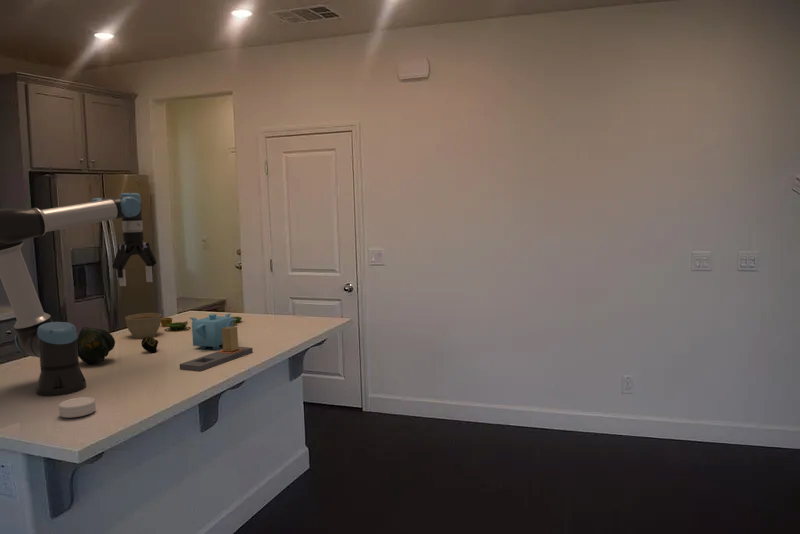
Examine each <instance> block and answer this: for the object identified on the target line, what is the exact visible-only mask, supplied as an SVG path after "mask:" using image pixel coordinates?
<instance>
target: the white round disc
mask: <svg viewBox="0 0 800 534" xmlns="http://www.w3.org/2000/svg"><path fill="white" fill-rule="evenodd" d="M96 409H97V407H96V399H95V398H93V397H89V396H81V397H74V398H70V399H66V400H64V401H61V402H60V403H59V404H58V411H59V412H58V413H59V414H58V415H59V416H60V417H62V418H66V419H67V418H68V419H69V418H70V419H73V418H80V417H85V416H87V415H90V414H92V413H94V412H95V411H96Z"/></svg>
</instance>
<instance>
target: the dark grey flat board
mask: <svg viewBox="0 0 800 534" xmlns="http://www.w3.org/2000/svg"><path fill="white" fill-rule="evenodd" d="M253 349H254V348H253V347H248V346H247V347H246V346H238V351H235V352H232V353H231V352H223V349H221V350H218V351H215V352H212V353H209V354H205V355H203V356H199V357H197V358H194V359H191V360H188V361H185V362H182V363H179V370H182V371H183V370H185V371H192V372H193V371H194V372H202V371H205V370H208V369H210V368H213V367H216V366H219V365H221V364H224V363H227V362H230V361H232V360H233V361H234V360H235V359H238V358H241V357H243V356H247V355H249V354H251V353H253Z"/></svg>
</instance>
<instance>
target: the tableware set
mask: <svg viewBox="0 0 800 534" xmlns="http://www.w3.org/2000/svg"><path fill="white" fill-rule="evenodd" d="M232 317H233V319H237V320H235V321H234V327H236V326H235V325H237V324H238V322H239V323H240V322H241V320H242V319H243V318H242V316H232ZM188 325H189V321H188V320H186V321H183V322H182V321H180V322H178V321H177V322H173V317H161V323H160V326H161V327H162V328H165V329H163V330H164V332H168V333H177V332H180V331H181V332H185V331H188V330H192V326H188ZM186 328H187V329H186Z"/></svg>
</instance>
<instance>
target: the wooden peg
mask: <svg viewBox="0 0 800 534" xmlns="http://www.w3.org/2000/svg"><path fill="white" fill-rule="evenodd" d="M222 342H223V346H222V350H223V352H231V353H232V352H235V351H238V347H239V336H238V326H234V327H230V326H228V327H225V328H222Z"/></svg>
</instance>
